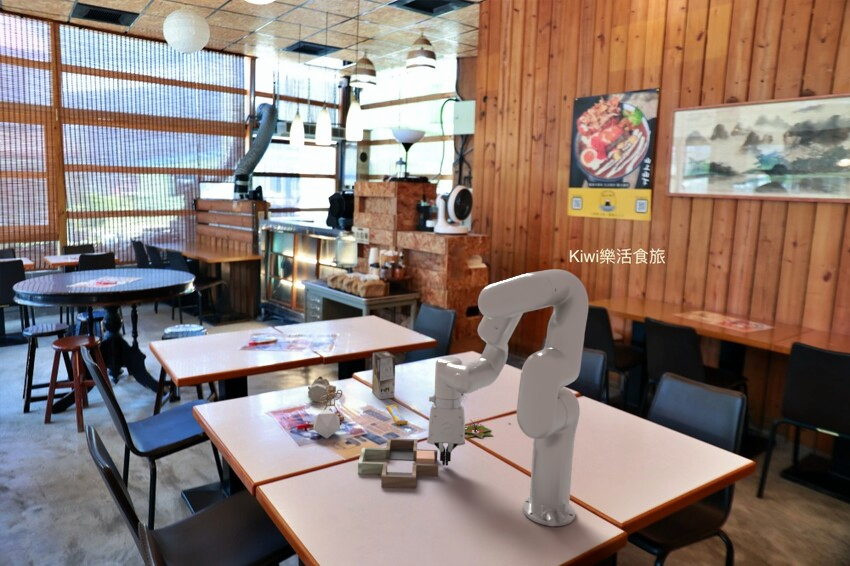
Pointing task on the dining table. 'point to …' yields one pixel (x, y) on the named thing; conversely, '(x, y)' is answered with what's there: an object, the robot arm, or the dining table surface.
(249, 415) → the dining table surface
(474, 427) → the lily flower
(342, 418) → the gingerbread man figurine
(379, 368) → the coffee box
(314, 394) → the ceramic sculpture
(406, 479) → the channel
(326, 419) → the die
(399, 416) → the candy bar
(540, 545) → the dining table surface
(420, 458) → the block
